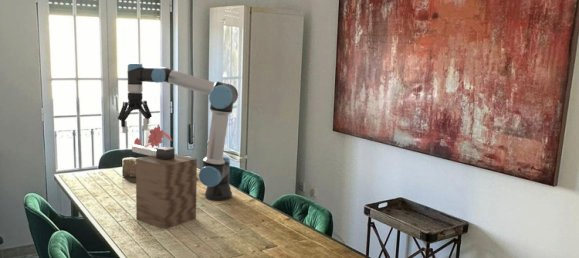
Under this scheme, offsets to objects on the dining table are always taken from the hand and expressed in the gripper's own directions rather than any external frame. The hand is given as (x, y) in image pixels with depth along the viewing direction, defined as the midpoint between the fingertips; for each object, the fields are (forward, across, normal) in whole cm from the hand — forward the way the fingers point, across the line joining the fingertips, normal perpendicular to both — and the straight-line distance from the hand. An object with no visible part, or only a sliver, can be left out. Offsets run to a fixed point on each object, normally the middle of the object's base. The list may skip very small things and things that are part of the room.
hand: (135, 131), depth 268 cm
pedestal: (+37, +12, +39) cm, 55 cm away
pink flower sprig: (+37, -26, -14) cm, 47 cm away
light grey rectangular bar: (+7, +12, +28) cm, 31 cm away
